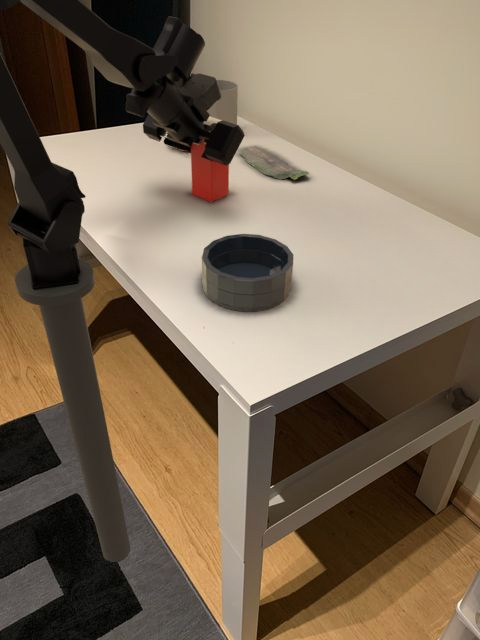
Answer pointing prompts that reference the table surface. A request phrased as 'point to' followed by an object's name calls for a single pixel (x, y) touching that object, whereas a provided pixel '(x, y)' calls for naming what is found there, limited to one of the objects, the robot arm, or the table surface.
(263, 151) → the leaf
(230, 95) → the cup
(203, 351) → the table surface
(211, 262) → the pot
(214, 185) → the soup carton
